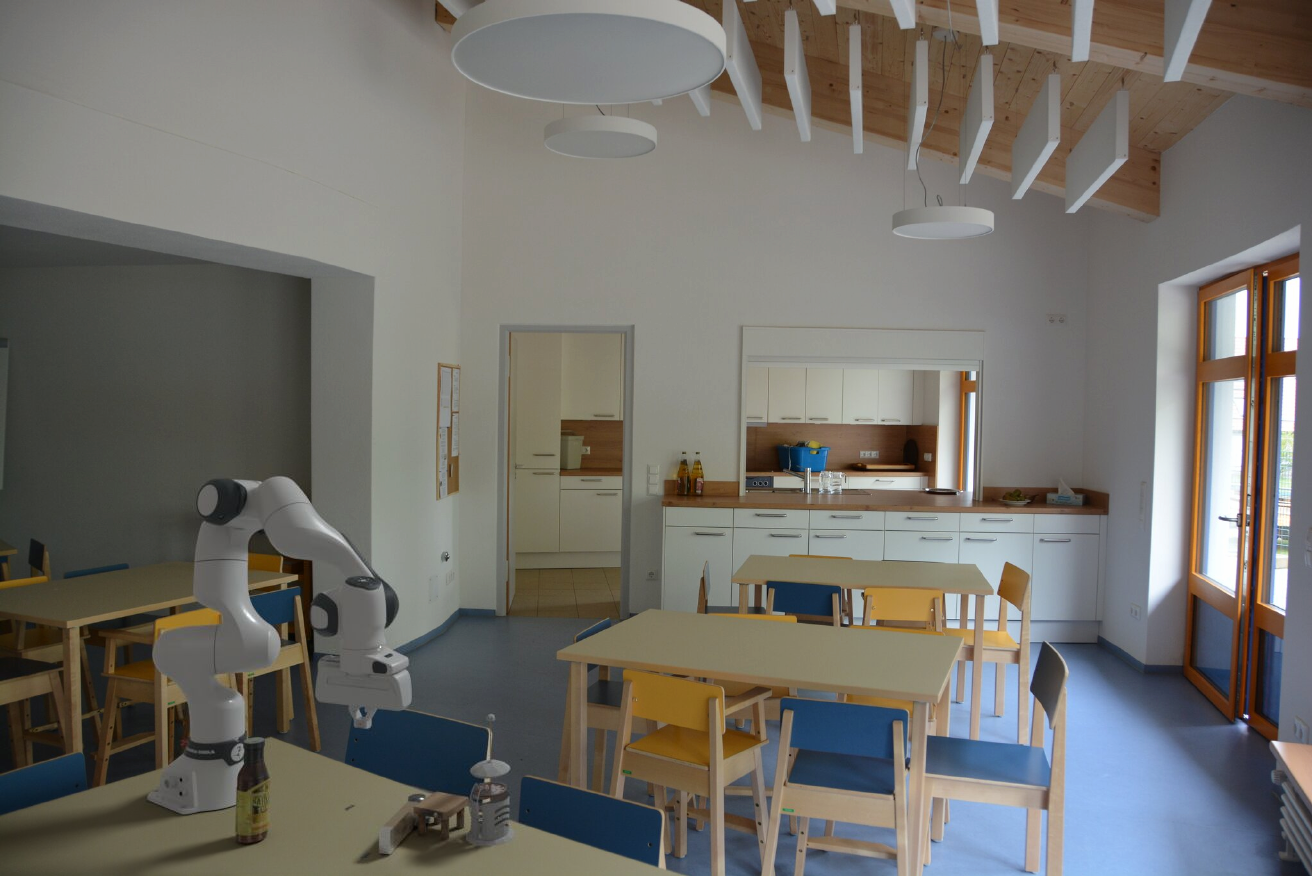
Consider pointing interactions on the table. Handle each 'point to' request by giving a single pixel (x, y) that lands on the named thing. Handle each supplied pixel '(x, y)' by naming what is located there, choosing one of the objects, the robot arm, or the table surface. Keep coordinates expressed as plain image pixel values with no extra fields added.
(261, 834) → the sauce bottle
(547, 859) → the table surface
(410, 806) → the cam lever
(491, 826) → the french press
